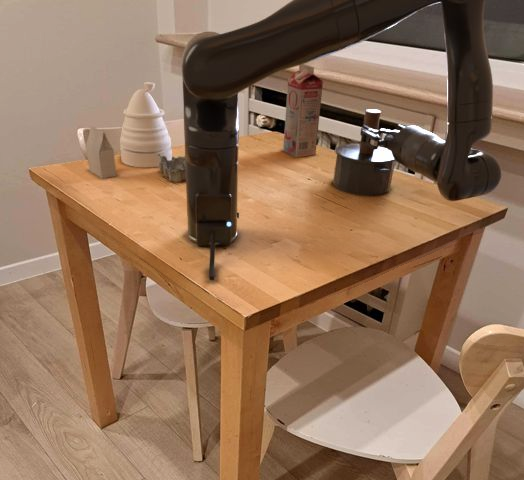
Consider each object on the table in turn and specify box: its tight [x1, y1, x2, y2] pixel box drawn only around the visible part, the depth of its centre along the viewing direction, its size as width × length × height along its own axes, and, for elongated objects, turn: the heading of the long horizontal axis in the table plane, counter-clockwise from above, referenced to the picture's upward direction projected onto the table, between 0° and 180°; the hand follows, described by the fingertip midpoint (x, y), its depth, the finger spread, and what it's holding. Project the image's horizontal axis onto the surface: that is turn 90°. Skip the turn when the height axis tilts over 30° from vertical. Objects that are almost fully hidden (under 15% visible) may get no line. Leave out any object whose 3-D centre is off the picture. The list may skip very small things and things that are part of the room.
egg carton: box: [158, 154, 186, 183], centre depth 126 cm, size 11×8×4 cm
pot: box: [332, 154, 396, 196], centre depth 126 cm, size 14×19×8 cm
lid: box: [334, 108, 396, 164], centre depth 121 cm, size 15×15×10 cm
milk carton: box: [282, 64, 324, 158], centre depth 142 cm, size 7×7×22 cm
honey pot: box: [119, 81, 173, 168], centre depth 131 cm, size 13×13×18 cm
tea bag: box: [85, 125, 117, 179], centre depth 123 cm, size 4×7×10 cm, turn 40°
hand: (380, 129), depth 116 cm, fingers open, 8 cm apart
